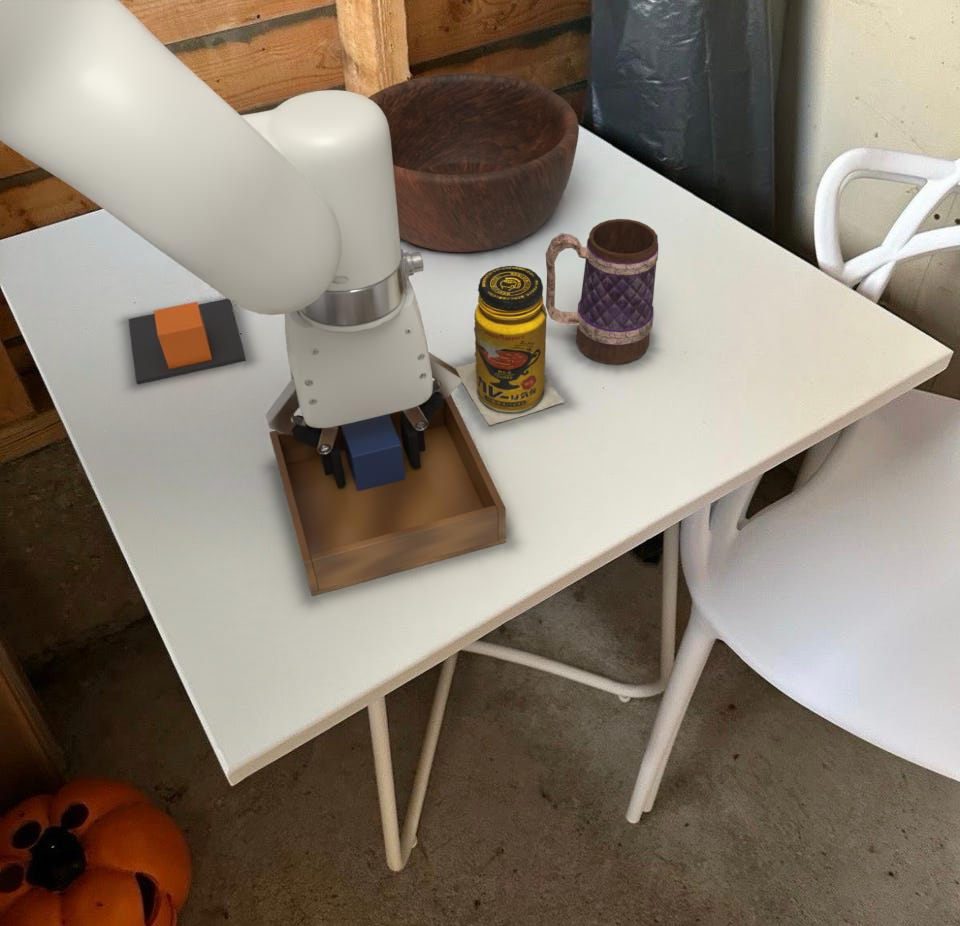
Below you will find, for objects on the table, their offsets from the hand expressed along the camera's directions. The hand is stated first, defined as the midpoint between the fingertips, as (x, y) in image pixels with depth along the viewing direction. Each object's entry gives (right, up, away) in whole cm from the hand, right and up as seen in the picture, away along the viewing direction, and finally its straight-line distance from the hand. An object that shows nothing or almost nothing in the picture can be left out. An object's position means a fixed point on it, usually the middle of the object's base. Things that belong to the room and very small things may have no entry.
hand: (375, 464), depth 76 cm
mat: (-20, +12, +14) cm, 27 cm away
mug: (+20, +11, +12) cm, 26 cm away
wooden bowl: (+7, +29, +30) cm, 43 cm away
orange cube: (-19, +11, +12) cm, 25 cm away
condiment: (+11, +7, +8) cm, 15 cm away
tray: (+1, -3, -2) cm, 4 cm away
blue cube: (0, 0, 0) cm, 1 cm away
